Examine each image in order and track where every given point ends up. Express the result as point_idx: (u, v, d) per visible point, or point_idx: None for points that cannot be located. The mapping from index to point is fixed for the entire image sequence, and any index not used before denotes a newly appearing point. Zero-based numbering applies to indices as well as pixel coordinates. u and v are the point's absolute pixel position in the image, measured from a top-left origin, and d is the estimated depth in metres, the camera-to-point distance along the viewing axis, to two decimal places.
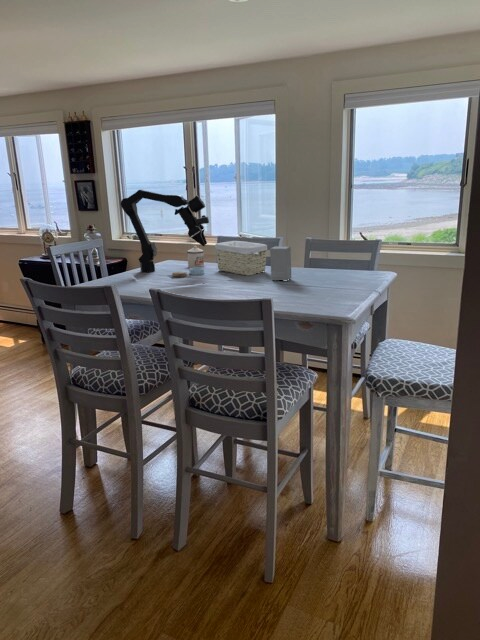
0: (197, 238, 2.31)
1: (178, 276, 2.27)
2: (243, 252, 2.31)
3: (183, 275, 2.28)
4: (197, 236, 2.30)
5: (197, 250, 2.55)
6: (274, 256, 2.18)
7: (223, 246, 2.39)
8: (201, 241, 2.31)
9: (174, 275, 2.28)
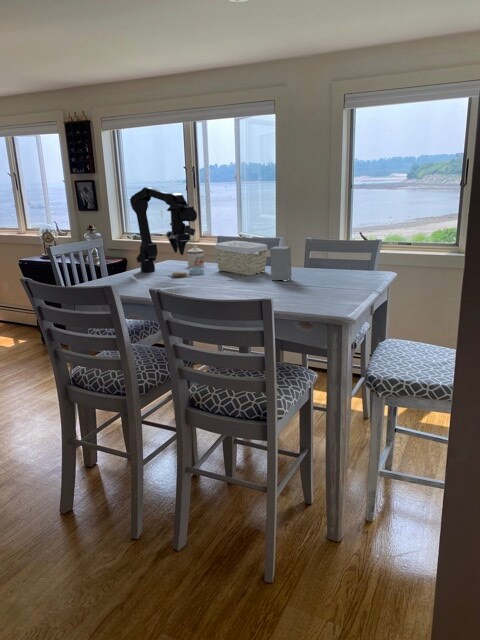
0: (180, 245, 2.21)
1: (178, 276, 2.27)
2: (243, 252, 2.31)
3: (183, 275, 2.28)
4: (181, 243, 2.21)
5: (197, 250, 2.55)
6: (274, 255, 2.18)
7: (224, 246, 2.39)
8: (182, 249, 2.22)
9: (174, 275, 2.28)
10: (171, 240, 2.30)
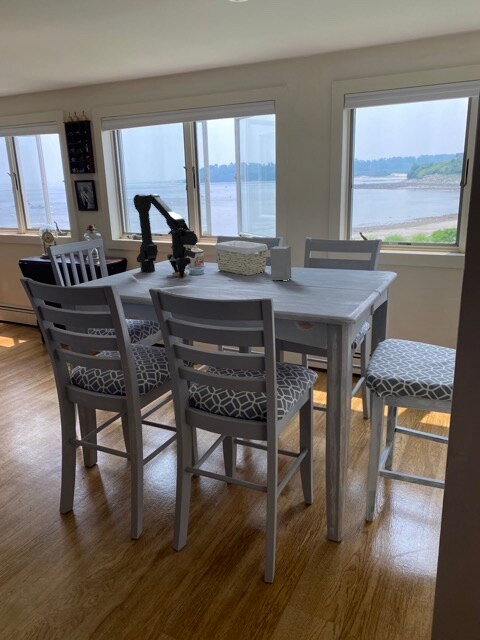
0: (180, 268, 2.25)
1: (178, 276, 2.27)
2: (243, 252, 2.31)
3: None
4: (181, 266, 2.25)
5: (197, 250, 2.55)
6: (274, 255, 2.18)
7: (224, 246, 2.39)
8: (182, 272, 2.26)
9: (174, 275, 2.28)
10: (172, 263, 2.32)
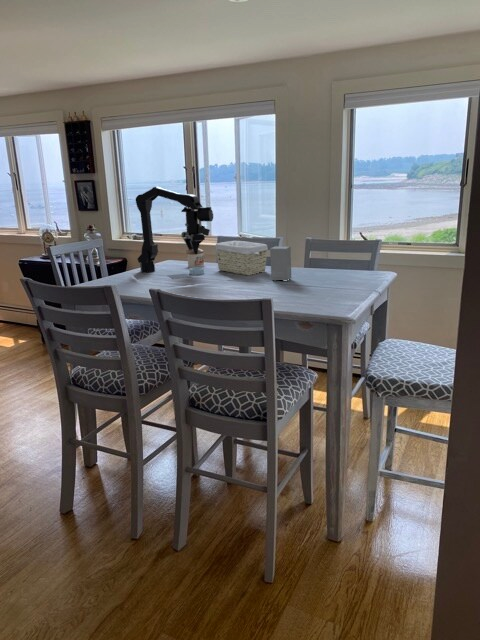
0: (194, 244, 2.27)
1: (192, 253, 2.30)
2: (243, 252, 2.31)
3: None
4: (195, 243, 2.27)
5: None
6: (274, 255, 2.18)
7: (224, 246, 2.40)
8: (196, 249, 2.29)
9: (188, 252, 2.31)
10: (186, 240, 2.35)
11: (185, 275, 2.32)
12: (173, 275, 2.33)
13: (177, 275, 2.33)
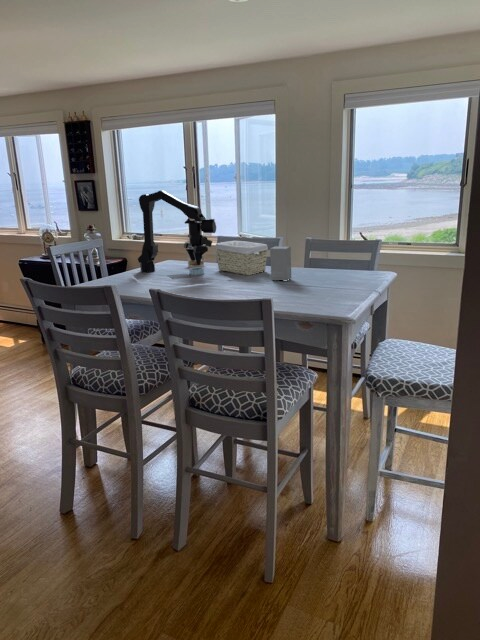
0: (197, 256, 2.30)
1: (195, 264, 2.33)
2: (244, 252, 2.32)
3: (200, 263, 2.33)
4: (198, 254, 2.30)
5: None
6: (274, 256, 2.18)
7: (224, 246, 2.40)
8: (199, 260, 2.31)
9: (191, 263, 2.33)
10: (189, 251, 2.37)
11: (185, 275, 2.32)
12: (173, 275, 2.33)
13: (177, 275, 2.33)
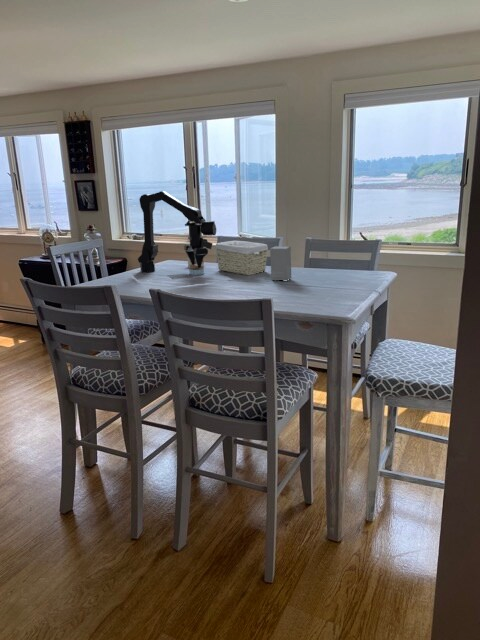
0: (198, 258, 2.30)
1: (195, 268, 2.33)
2: (244, 252, 2.32)
3: None
4: (199, 256, 2.30)
5: None
6: (274, 255, 2.18)
7: (224, 245, 2.40)
8: (200, 262, 2.31)
9: (191, 267, 2.34)
10: (189, 253, 2.38)
11: (185, 275, 2.32)
12: (173, 275, 2.33)
13: (177, 275, 2.33)
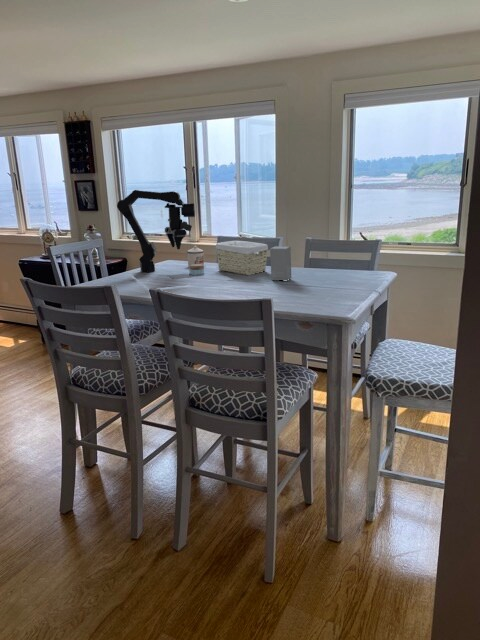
0: (177, 240, 2.34)
1: (196, 268, 2.33)
2: (244, 252, 2.32)
3: (200, 267, 2.34)
4: (178, 238, 2.34)
5: (197, 250, 2.55)
6: (274, 256, 2.18)
7: (224, 245, 2.40)
8: (179, 244, 2.35)
9: (192, 267, 2.34)
10: (169, 235, 2.43)
11: (185, 275, 2.32)
12: (173, 275, 2.33)
13: (177, 275, 2.33)
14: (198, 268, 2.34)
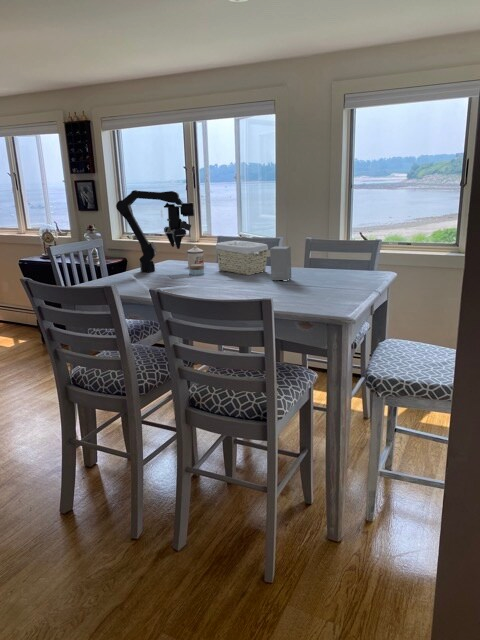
0: (177, 239, 2.34)
1: (196, 268, 2.33)
2: (244, 252, 2.32)
3: (200, 267, 2.34)
4: (178, 237, 2.34)
5: (197, 250, 2.55)
6: (274, 256, 2.18)
7: (224, 245, 2.40)
8: (178, 243, 2.35)
9: (192, 267, 2.34)
10: (168, 235, 2.43)
11: (185, 275, 2.32)
12: (173, 275, 2.33)
13: (177, 275, 2.33)
14: (198, 268, 2.34)
